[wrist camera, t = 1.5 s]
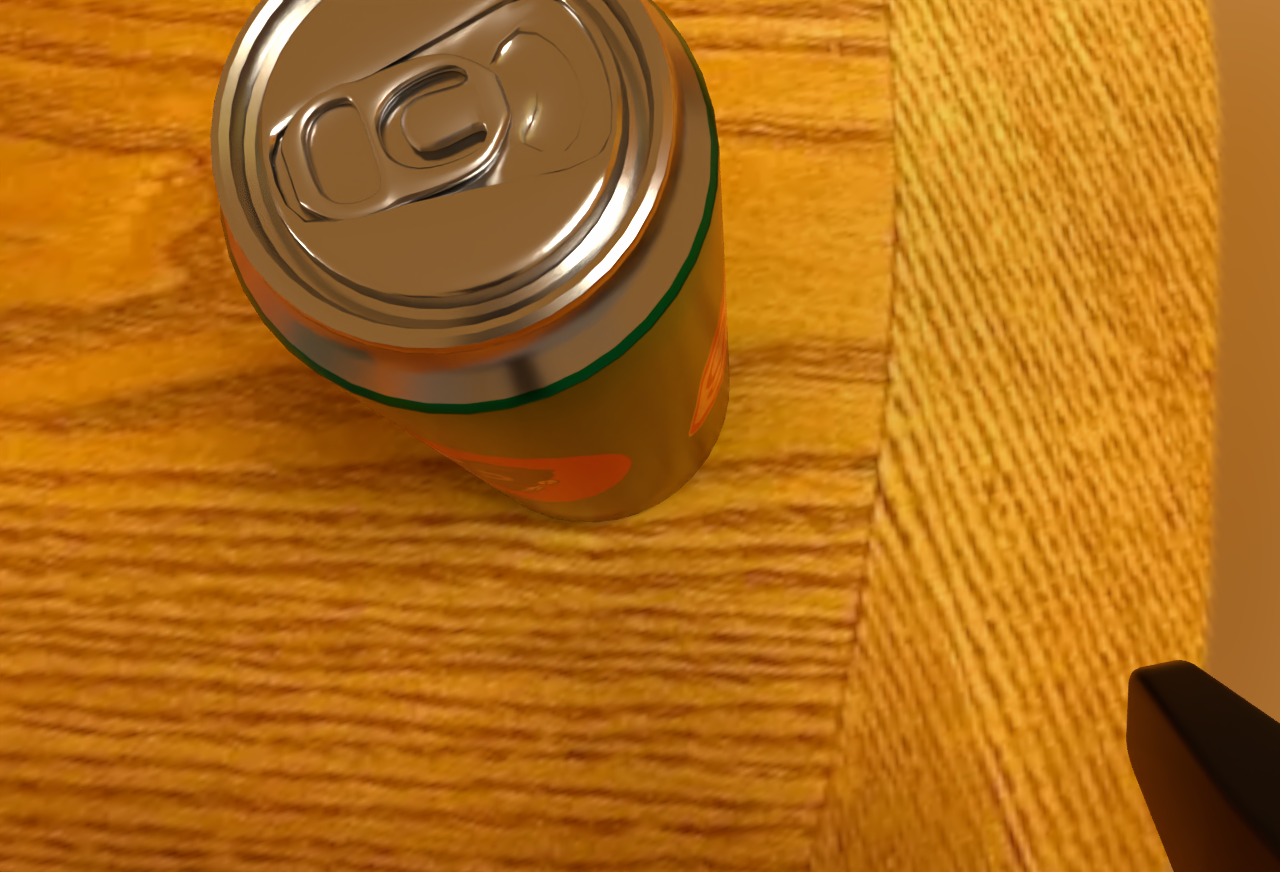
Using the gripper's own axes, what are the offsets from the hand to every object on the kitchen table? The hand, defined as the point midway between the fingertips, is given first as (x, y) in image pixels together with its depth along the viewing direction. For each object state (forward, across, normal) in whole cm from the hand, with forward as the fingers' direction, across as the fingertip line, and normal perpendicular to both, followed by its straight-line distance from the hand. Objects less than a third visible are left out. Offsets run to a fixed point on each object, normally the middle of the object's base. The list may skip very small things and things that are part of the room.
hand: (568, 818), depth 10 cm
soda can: (+13, 0, +4) cm, 14 cm away
